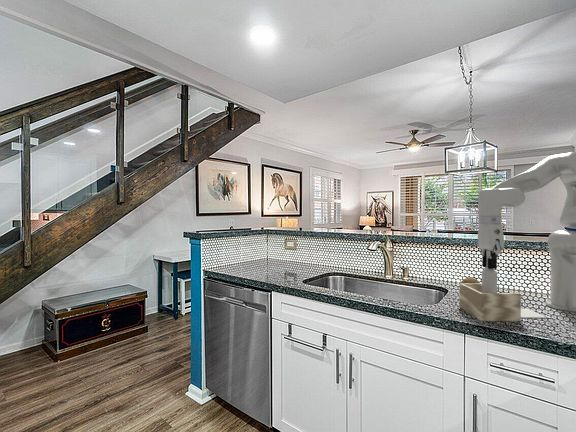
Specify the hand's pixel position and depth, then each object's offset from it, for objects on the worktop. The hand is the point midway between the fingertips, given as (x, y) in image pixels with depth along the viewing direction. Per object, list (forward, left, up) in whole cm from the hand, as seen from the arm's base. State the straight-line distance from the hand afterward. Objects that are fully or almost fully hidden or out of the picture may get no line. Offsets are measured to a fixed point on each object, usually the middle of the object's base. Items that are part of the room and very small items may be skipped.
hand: (489, 267), depth 123 cm
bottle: (0, 0, -18) cm, 18 cm away
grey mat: (-13, 0, -18) cm, 22 cm away
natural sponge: (-3, -19, -18) cm, 27 cm away
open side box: (0, 0, -18) cm, 18 cm away
